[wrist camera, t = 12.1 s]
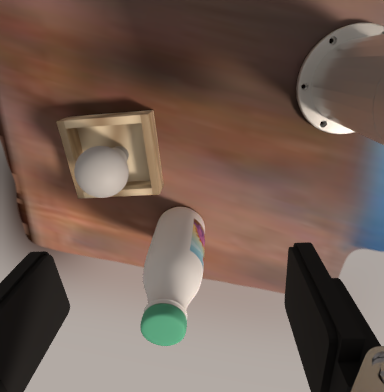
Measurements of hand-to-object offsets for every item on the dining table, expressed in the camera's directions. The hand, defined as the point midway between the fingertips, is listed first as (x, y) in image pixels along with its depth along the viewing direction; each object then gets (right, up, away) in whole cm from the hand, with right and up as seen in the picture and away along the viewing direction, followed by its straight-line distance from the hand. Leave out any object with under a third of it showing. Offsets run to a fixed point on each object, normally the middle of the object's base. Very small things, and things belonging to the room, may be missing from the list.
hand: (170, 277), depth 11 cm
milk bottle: (-1, -2, +35) cm, 35 cm away
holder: (-10, +10, +30) cm, 33 cm away
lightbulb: (-9, +9, +29) cm, 32 cm away
